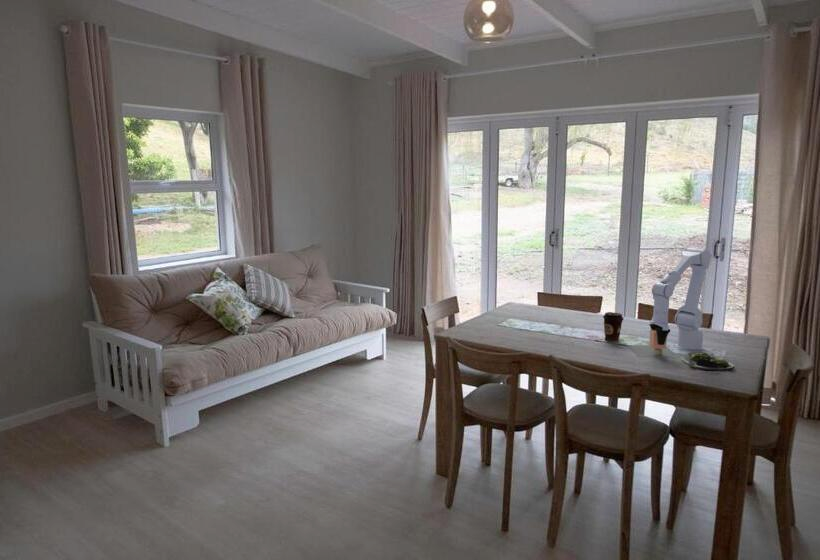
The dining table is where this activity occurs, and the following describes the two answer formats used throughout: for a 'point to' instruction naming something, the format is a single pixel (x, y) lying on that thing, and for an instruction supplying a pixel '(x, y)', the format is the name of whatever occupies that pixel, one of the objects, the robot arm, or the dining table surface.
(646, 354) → the mat
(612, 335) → the coffee cup
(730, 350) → the dining table surface
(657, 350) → the post
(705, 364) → the salad plate
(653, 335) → the peach foam cube
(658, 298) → the robot arm
